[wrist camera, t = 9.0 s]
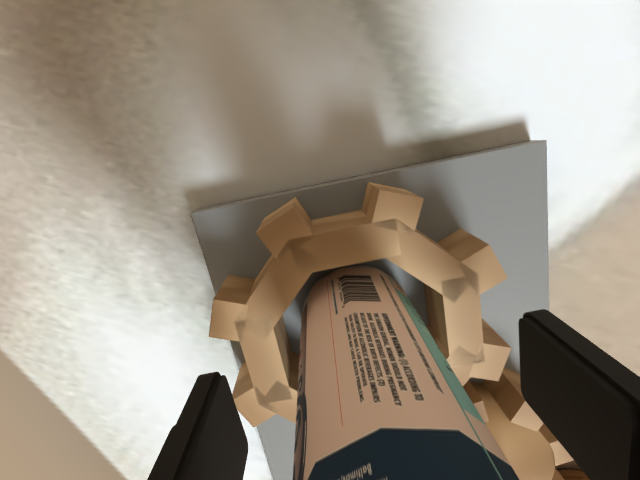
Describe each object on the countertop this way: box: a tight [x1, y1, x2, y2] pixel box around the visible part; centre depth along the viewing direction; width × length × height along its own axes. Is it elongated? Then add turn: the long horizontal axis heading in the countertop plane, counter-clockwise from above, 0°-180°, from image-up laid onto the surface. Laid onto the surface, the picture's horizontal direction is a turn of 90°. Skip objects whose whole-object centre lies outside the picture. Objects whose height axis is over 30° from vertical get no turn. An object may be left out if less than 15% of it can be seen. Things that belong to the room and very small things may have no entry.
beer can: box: [293, 265, 519, 480], centre depth 10 cm, size 5×5×12 cm
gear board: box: [191, 140, 549, 480], centre depth 17 cm, size 18×15×1 cm
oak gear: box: [209, 182, 511, 427], centre depth 15 cm, size 12×12×2 cm
